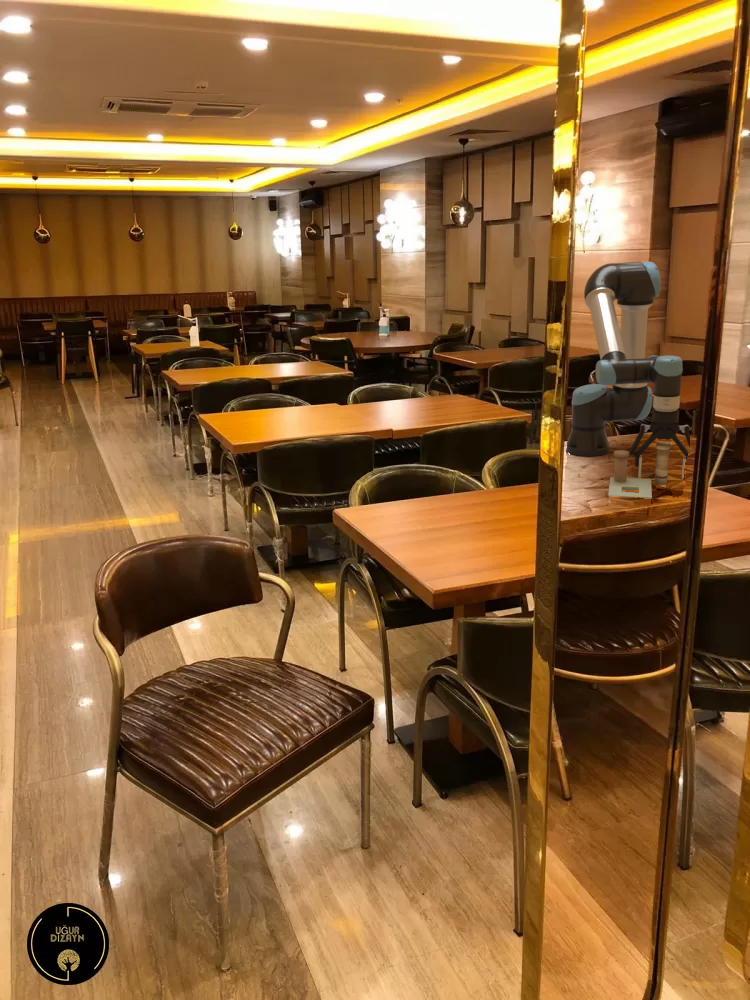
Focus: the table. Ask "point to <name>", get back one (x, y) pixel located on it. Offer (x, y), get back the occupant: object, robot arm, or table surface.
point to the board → (627, 480)
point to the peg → (662, 463)
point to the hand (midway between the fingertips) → (661, 477)
